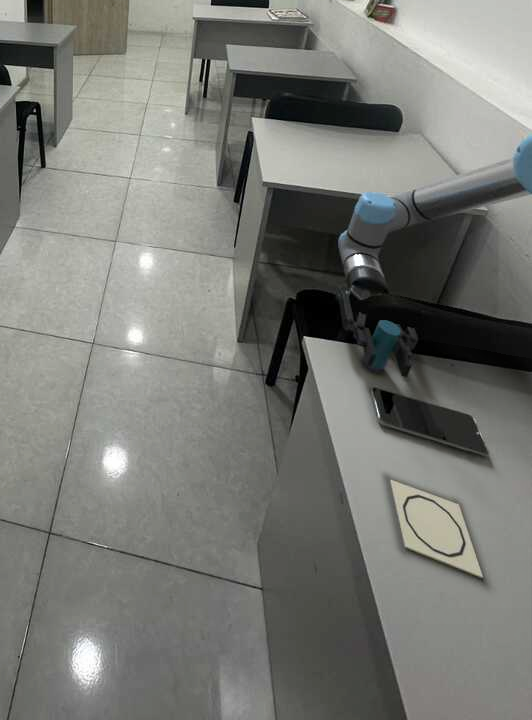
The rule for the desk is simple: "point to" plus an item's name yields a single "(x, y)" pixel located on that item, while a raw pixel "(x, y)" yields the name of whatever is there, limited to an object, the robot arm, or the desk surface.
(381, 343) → the teal cylinder
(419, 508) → the drawing sheet
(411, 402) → the smartphone
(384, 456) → the desk surface
